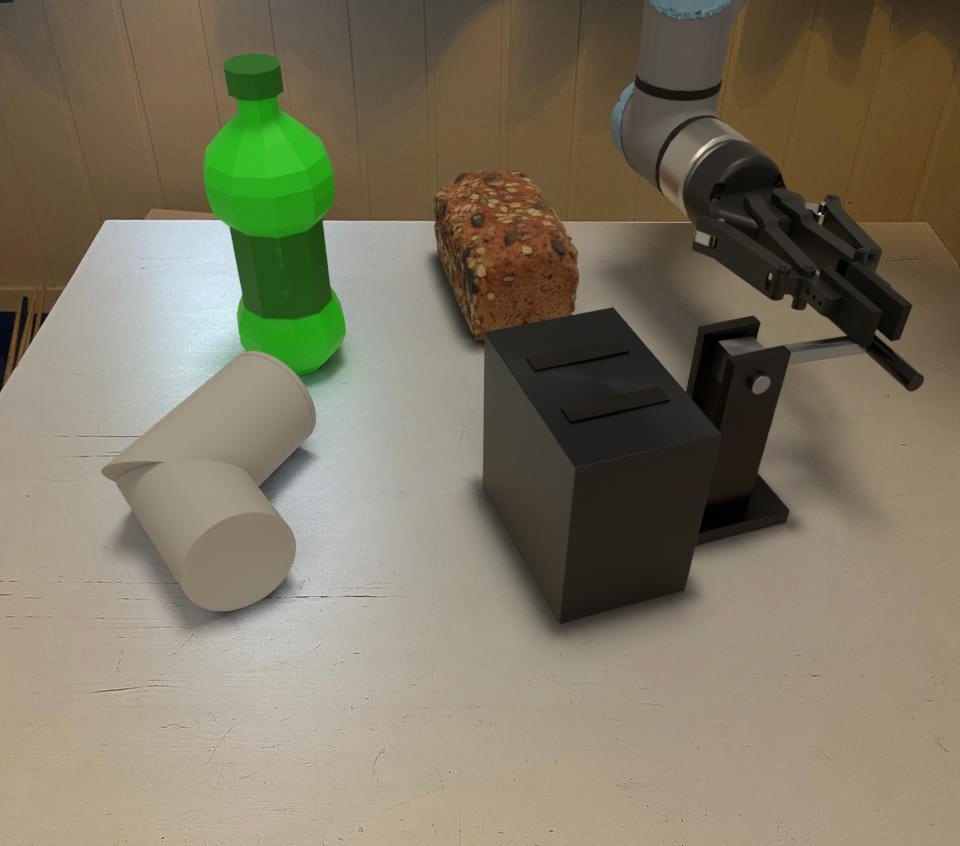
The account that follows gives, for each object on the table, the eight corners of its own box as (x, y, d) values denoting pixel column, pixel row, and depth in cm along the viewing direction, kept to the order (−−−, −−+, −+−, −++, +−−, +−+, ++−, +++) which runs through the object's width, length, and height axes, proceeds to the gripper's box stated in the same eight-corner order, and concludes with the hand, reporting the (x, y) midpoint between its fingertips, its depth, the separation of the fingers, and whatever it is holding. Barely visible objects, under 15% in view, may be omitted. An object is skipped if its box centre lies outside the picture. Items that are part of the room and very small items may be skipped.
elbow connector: (68, 471, 78) (161, 628, 67) (56, 348, 71) (158, 501, 60) (274, 439, 87) (385, 572, 76) (281, 328, 80) (404, 456, 69)
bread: (576, 338, 94) (585, 237, 86) (467, 350, 92) (466, 248, 84) (528, 245, 106) (532, 149, 98) (431, 255, 104) (428, 158, 96)
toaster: (595, 460, 81) (613, 304, 71) (685, 590, 71) (722, 432, 61) (482, 486, 79) (484, 329, 68) (559, 624, 69) (575, 466, 59)
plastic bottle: (254, 327, 94) (200, 37, 76) (362, 333, 94) (335, 42, 75) (227, 387, 88) (160, 86, 69) (343, 394, 87) (307, 92, 68)
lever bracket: (735, 461, 81) (777, 297, 70) (786, 521, 76) (840, 356, 65) (626, 487, 79) (652, 322, 68) (672, 551, 74) (707, 385, 63)
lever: (829, 318, 76) (839, 289, 74) (916, 397, 69) (930, 367, 67) (680, 339, 72) (687, 308, 70) (757, 424, 65) (768, 393, 63)
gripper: (786, 215, 88) (954, 354, 73) (637, 240, 84) (782, 392, 70) (808, 127, 82) (995, 259, 67) (649, 150, 79) (810, 295, 64)
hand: (886, 326), depth 69 cm, fingers closed
